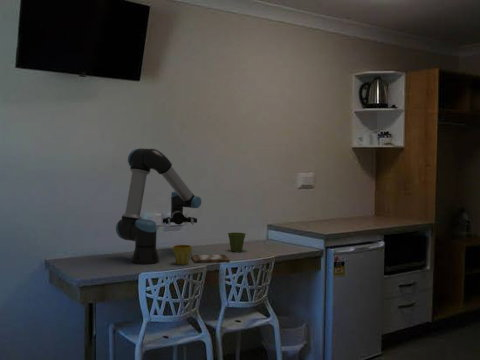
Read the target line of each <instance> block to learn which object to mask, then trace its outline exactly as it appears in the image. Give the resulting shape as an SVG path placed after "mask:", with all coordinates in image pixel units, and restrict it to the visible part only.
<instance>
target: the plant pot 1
mask: <svg viewBox="0 0 480 360" xmlns="http://www.w3.org/2000/svg"><path fill="white" fill-rule="evenodd" d="M192 251H193V250H192V245H189V244H176V245H173V246H172V252H173V254H174V257H175V263H176V265H188V264H189V263H190V262H189V261H190V255H191V253H192Z"/></svg>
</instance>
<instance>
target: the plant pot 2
mask: <svg viewBox="0 0 480 360" xmlns="http://www.w3.org/2000/svg"><path fill="white" fill-rule="evenodd" d="M227 235H228V239H229V245H230V251H231V252H235V253H240V252H243V248H244V247H243V246H244V242H245V238H246V235H247V233H245V232H236V231H235V232H227Z"/></svg>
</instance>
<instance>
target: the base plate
mask: <svg viewBox="0 0 480 360" xmlns="http://www.w3.org/2000/svg"><path fill="white" fill-rule="evenodd" d="M191 259H192V261H193V263H194V264H212V263H213V264H215V263H216V264H219V263H220V262H226V263H230V261H231V260H230V259H229V257H228V256H226V254H191Z"/></svg>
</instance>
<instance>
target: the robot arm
mask: <svg viewBox="0 0 480 360" xmlns="http://www.w3.org/2000/svg"><path fill="white" fill-rule="evenodd" d="M127 164H128V166H129V167H130V169H129V170H130V172H131V177H130V184H129V189H128V195H127V196H128V197H127V200H126V207H125V211H124V214H121V219H119V220H118V221H117V223H116V224H115V231H116V234H117V236H118V237H119V238H120V239H123V240H125V241H131V242H134V243H135V245H134V246H135V247H134V250H133V253H132V256H131V263H132V264H133V263H134V264H139V265H150V264H157V263H160V256H159V253H158V250H157V249H158V248H157V233H158V232H157V230H158V228H157V223H156V222H155V221H154V220H153V219H146V218H142V216H141V211H142V206H143V199H144V195H145V188H146V183H147V176H148V175H149V174H150V173H151V170H154V171H156V172H157V173H158V174H159V175H162V177H163V178H164V179H165V181H166V182H167V183H168V184H169V186H171V188H172V189H173V190H174V191H172V192H171V196H170V197H171V198H170V204H171V205H170V207H171V208H170V216H167V217H164V218H162V223H163V224H165V225H168V226H170V225H171V223H173V224H175V225H176V226H177V225H178V226H179V225H182V224H183V223H190V224H191V225H194V224H197V223H198V218H197V217H191V216H188V217H186V216H185V215H184V208H190V209H199V208H200V207H201V205H202V198H201V197H200V196H198V195H195V194H194V193H193V192H192V190H191V189H190V188H189V186H188V185H187V184H186V183H185V181H184V180H183V179H182V177H181V176H180V175H179V174H178V173H177V171H176V170H175V169H174V167H173V164H172V162H171V161H170V159H169V158H168V157H167V156H166V155H165V153H163V152H161V151H160V150H158V149H155V148H135V149H132V150H131V151H130V153H129V154H128V157H127Z"/></svg>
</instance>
